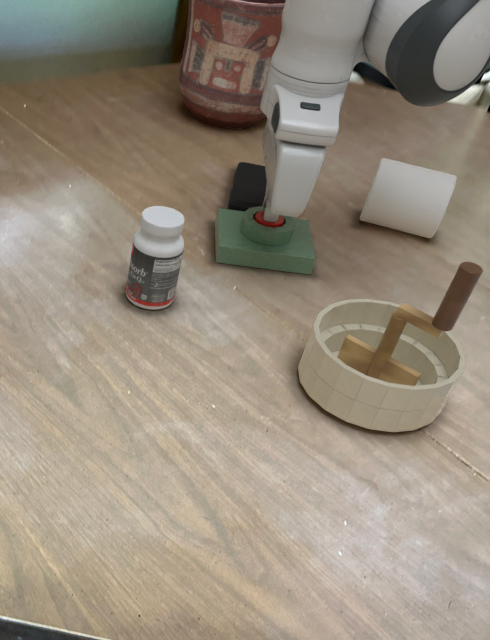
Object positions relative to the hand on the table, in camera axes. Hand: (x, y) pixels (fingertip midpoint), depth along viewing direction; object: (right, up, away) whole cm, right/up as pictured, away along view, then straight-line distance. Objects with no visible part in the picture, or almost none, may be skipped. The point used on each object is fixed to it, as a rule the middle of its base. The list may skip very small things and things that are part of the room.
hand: (269, 216), depth 97 cm
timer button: (0, -1, +1) cm, 2 cm away
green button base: (0, -3, +3) cm, 4 cm away
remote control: (0, +8, +13) cm, 15 cm away
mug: (+21, +4, +12) cm, 24 cm away
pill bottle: (-16, -13, -7) cm, 21 cm away
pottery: (0, +30, +31) cm, 43 cm away
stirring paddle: (+7, -24, -16) cm, 29 cm away
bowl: (+7, -25, -14) cm, 29 cm away
